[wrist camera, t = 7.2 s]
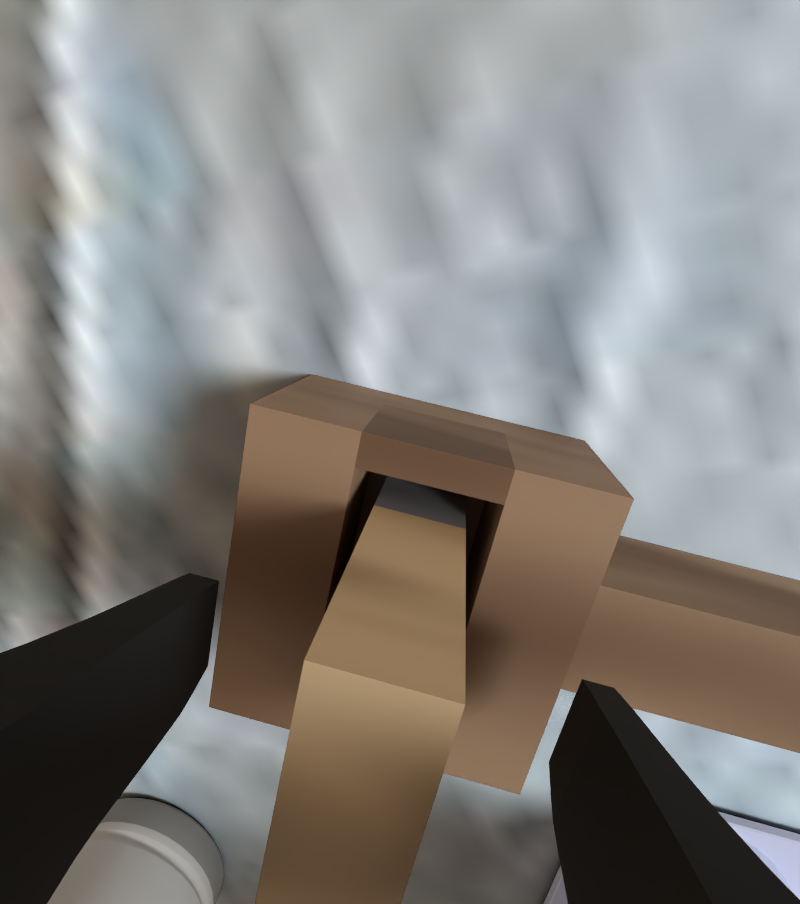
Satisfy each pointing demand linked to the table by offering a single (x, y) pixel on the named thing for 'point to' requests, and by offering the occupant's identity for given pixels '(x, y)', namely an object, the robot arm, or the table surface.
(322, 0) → the table surface
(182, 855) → the travel mug
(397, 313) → the table surface
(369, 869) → the tan square peg
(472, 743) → the post
